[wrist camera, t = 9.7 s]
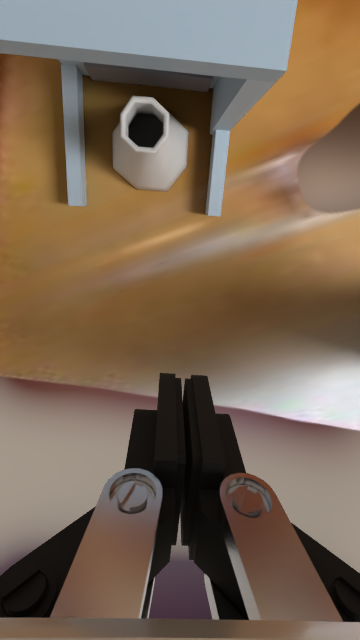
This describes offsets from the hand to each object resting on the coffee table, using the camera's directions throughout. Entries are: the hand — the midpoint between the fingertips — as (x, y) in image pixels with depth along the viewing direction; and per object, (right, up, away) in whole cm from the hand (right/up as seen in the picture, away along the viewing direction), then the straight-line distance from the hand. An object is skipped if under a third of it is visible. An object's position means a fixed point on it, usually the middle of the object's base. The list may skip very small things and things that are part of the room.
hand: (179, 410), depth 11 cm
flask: (-3, +19, +18) cm, 26 cm away
